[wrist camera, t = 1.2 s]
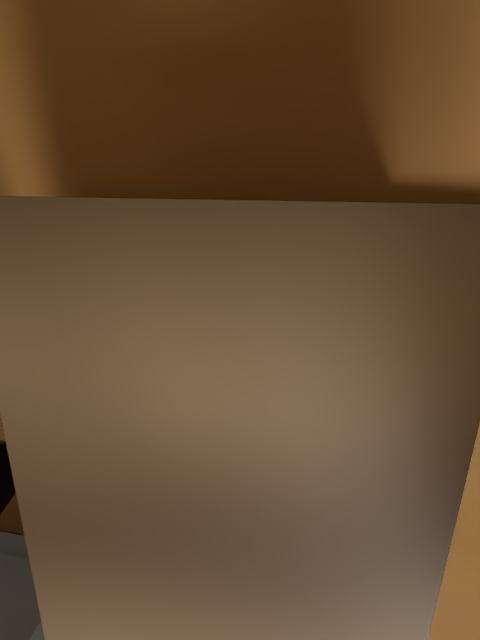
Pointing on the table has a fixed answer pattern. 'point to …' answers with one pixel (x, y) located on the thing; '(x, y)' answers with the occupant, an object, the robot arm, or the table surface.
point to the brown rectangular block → (238, 412)
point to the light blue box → (17, 592)
